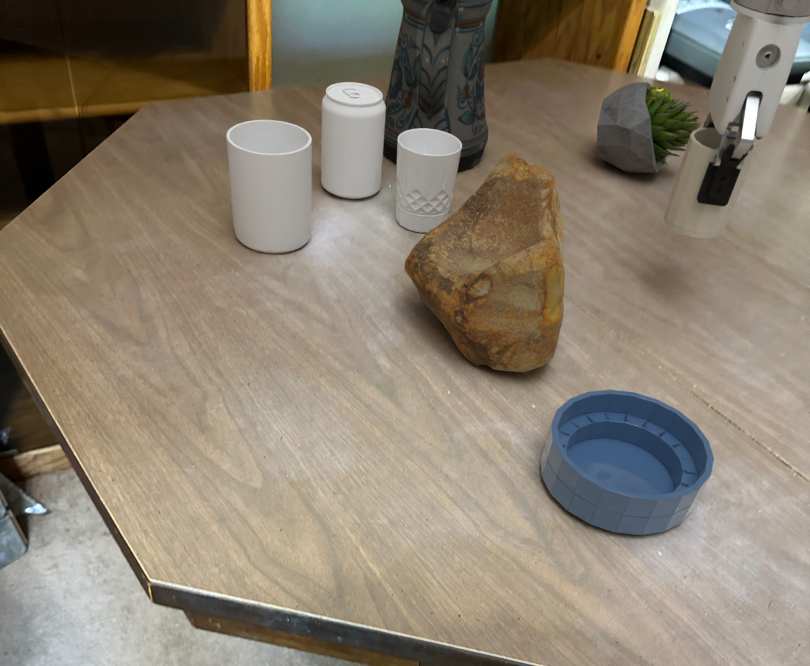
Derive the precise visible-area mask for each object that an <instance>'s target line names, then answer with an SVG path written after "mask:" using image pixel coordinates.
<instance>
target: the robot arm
mask: <svg viewBox="0 0 810 666" xmlns="http://www.w3.org/2000/svg"><path fill="white" fill-rule="evenodd" d="M729 6H730V8H731V9H732V10H733V11H735V12H737V13H736V15H735V18H734V20H733V22H732V25H731V28H730V30H729V33H728V36H727V39H726V42H725V44H724V46H723V50H722V52H721V55H720V59H719V62H718V64H717V67H716V70H715V73H714V76H713V80H712V83H711V86H710V89H709V93H708V100H707V107H708V110H709V113H708V114H707V117H706V119H705V121H704V122H703V126H702V128H716V130H717V131H718V133H719V134H720V136H719V140H718V144H717V148H716V152H715V156H714V160H713V162H709V164H708V167H707V170H706V173H705V176H704V178H703V181H702V184H701V187H700V190H699V192H698V195H697V201H698V203H702V204H709V205H717V206H726V205H727V204H728V202H729V199H730V197H731V194H732V192H733V189H734V186H735V184H736V181H737V179H738V176H739V174H740V171H741V169H742V167H743V164H744V161H745V157H746V156H747V154H748V153H747V152H748V150H749V149H750V147H751V146H752V144H753V141H754V142H755V139H756V140H757V141H763V140H764V139H765V138H766V137H768V134H769V132H770V130H771V127H772V124H773V122H774V118H775V116H776V114H777V110H778V107H779V104H780V103H781V99H782V96H783V94H784V90H785V88H786V85H787V82H788V79H789V77H790V74H791V70H792V67H793V64H794V62H795V59H796V55H797V51H798V48H799V44H800V41H801V38H802V34H803V29H804V24H806V23H810V0H730V3H729ZM734 127H738V131H735V132H734V130H733V128H734ZM728 130H731V131H728ZM727 139H729V140H735V141H734V144H730V145H729V146H728V147H727V148H726V150H725V151H724V149H725V145H726V141H727Z"/></svg>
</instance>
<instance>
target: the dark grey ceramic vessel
mask: <svg viewBox="0 0 810 666" xmlns="http://www.w3.org/2000/svg"><path fill="white" fill-rule="evenodd" d="M493 1H494V0H400V3H401V5H402V16H401V20H400V26H399V30H398V36H397V41H396V45H395V52H394V57H393V62H392V68H391V71H390V79H389V85H388V89H387V92H386V96H385V100H384V103H385V106H386V114H385V129H384V144H383V157H385V159H387V160H388V161H390V162H391V163H393V164H395V165H397V140H398V136H399V135H400V134H401V133H402V132H404V131H407V130H411V129H419V128H426V129H435V130H440V131H444V132H447V133H449V134H451V135H453V136H455V137H457V138H458V139H459V140H460V141H461V143H462V149H461V155H460V160H459V165H458V171H457V174H458V173H462V172H464V171H468V170H471V169H474V168H475V167H476V166H478V164H480V162H481V160H482V157H483V155H484V153H485V148H486V146H487V143H488V140H489V127H488V122H487V115H486V104H485V103H486V101H485V100H486V99H485V68H486V67H485V66H486V62H485V61H486V59H485V52H486V38H485V37H486V21H487V16H488V15H489V13H490V11H491V7H492V4H493Z"/></svg>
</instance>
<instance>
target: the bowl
mask: <svg viewBox="0 0 810 666" xmlns="http://www.w3.org/2000/svg"><path fill="white" fill-rule="evenodd" d="M714 460H715V456H714V453H713V451H712V446H711V444H710V440H709V439H708V438H707V437H706V435H705V433H703V431H702V430H701V429H700V427H699V426H698V425H697V424H696V423H695V422H694V421H692V420H691V419H690V418H689V417H688V416H687V415H685V414H684V413H683V412H681V411H680V410H679V409H677V408H675V407H673V406H671V405H669V404H668V403H666V402H664V401H661V400H659V399H657V398H654V397H651V396H648V395H644V394H641V393H638V392H633V391H626V390H617V389H603V390H602V389H601V390H593V391H587V392H583V393H581V394H579V395H576V396H573V397H571V398H569V399H567V400H566V401H565V402H564V403H563V404H562V405H561V406H560V407H558V408H557V410H556V411H555V414H554V416H553V418H552V421H551V423H550V427H549V429H548V432H547V437H546V440H545V443H544V446H543V449H542V453H541V456H540V460H539V461H540V471H541V472H540V473H541V479H542V481H543V482H544V485H545V486H546V488H547V490H548V492H549V494H550V495H551V496H552V497H553V498H554V499H555V500H556V502H558V503H559V505H561V506H562V507H563V509H565V510H566V511H567V512H569V513H570V514H572V515H573V516H575V517H577V518H579V519H580V520H582V521H583V522H585V523H587V524H589V525H591V526H593V527H597V528H600V529H603V530H606V531H609V532H612V533H617V534H627V535H637V536H645V535H652V534H657V533H664V532H666V531H669V530H670V529H673V528H674V527H676V526H678V525H680V524H682V523H683V522H684V521H685V520H686V518H688V516H689V515H690V514H691V512H692V511H693V510H694V507H695V506H696V504H697V502H698V500H699V498H700V497H701V495H702V493H703V492H704V491H703V490H704V489H705V487H706V486H707V484H708V482H709V480H710V478H711V476H712V473H713V467H714V462H715V461H714Z"/></svg>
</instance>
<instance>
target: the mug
mask: <svg viewBox="0 0 810 666" xmlns="http://www.w3.org/2000/svg"><path fill="white" fill-rule="evenodd" d="M225 137H226V149H227V151H226V152H227V162H228V173H229V174H228V175H229V185H230V187H229V189H230V199H231V211H232V222H233V230H234V234H235V237H236V239H237V240H238V241H239V242H240V243H242V245H244V246H245V247H247V248H249V249H250V250H253V251H256V252H260V253H265V254H287V253H291V252H295V251H296V250H299V249H300V248H302V247H303V246H305V245H306V244H307V243H308V242H309V241H310V240H311V237H312V228H313V223H312V222H313V214H312V213H313V207H312V206H313V197H312V196H313V192H312V191H313V186H312V185H313V171H312V170H313V163H312V162H313V161H312V160H313V155H312V154H313V152H312V151H313V150H312V148H313V146H312V145H313V143H312V142H313V141H312V139H313V138H312V136H311V134H310V132H309V131H307V130H306V128H303V127H301V126H299V125H297V124H294V123H290V122H286V121H282V120H274V119H257V120H256V119H253V120H248V121H243V122H239V123H237V124H235V125H232V126H231V127H230V128H229V129H228V130H227V131H226V135H225Z"/></svg>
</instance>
